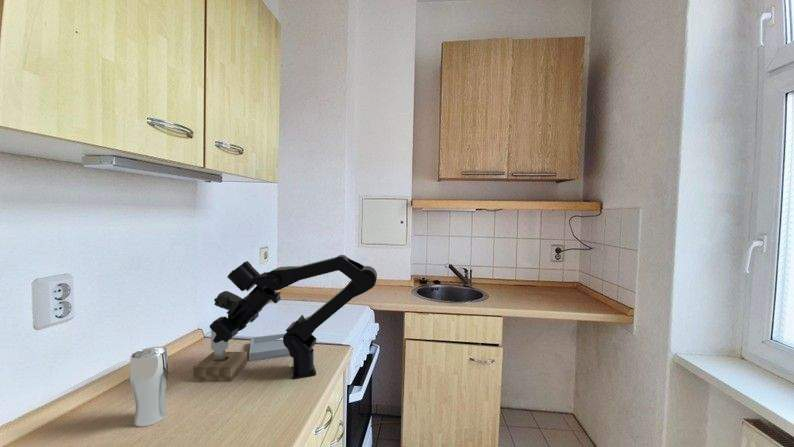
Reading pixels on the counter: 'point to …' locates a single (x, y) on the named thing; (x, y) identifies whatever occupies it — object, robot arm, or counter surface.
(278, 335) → the tray
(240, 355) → the socket
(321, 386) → the counter surface
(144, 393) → the beer glass
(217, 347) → the grey rectangular block
